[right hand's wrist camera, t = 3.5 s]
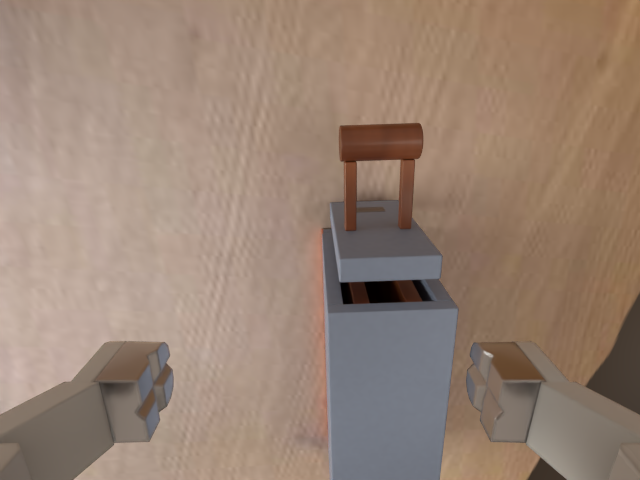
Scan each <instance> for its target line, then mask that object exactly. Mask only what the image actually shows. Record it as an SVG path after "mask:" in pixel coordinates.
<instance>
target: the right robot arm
mask: <svg viewBox="0 0 640 480" xmlns="http://www.w3.org/2000/svg"><path fill="white" fill-rule="evenodd" d="M169 357H170V352H169V347H168V345H167V344H166V343H165V342H136V341H128V342H126V341H109V342H106V343H104V344H103V346H102V347H101V348H100V349H99V350H98V351H97V352H96V353H95V355H94V356H93V357H92V358H91V359H90V360H89V361H88V363H87V364H86V365H85V366H84V367H83V368H82V369H81V371H80V372H79V373H78V374H77V375H76V376H75V377H74V379H73V380H72V381H71V382H63V383H61V384H59V385H57V386H55V387H53V388H52V389H50V390H48V391H46V392H44V393H42V394H40V395H38V396H36V397H34V398H32V399H30V400H28V401H26V402H24V403H22V404H20V405H18V406H16V407H14V408H12V409H11V410H9V411H7V412H5V413H3V414H1V415H0V480H73V479H74V478H76V477H77V476H78V475H79V474H80V473H81V472H83V471H84V470H85V469H86V468H87V467H88V466H90V465H91V464H92V463H93V462H94V461H95V460H97V459H98V458H99V457H100V456H101V455H103V454H104V453H105V452H106V451H107V450H108V449H110V448H111V447H112V446H113V445H114V443H123V442H149V441H150V439H151V437H152V435H153V433H154V431H155V429H156V427H157V425H158V423H159V421H160V416H159V412H160V411H161V410H163V409H164V408H165V407H167V405H168V403H169V401H170V399H171V395H172V391H173V384H174V377H173V370H172V369H171V368H170V367H169V366H168V365H167V364H166V362H167V360H168V359H169ZM470 357H471V359H472V360H473V362H474V364H473V365H472V366H471V367H470V368H469V369H468V370H467V378H466V383H467V392H468V395H469V399H470V401H471V403H472V405H473V407H475V408H476V409H477V410H479V411H480V412H481V416H480V421H481V423H482V425H483V427H484V429H485V431H486V433H487V435H488V437H489V439H490V441H491V442H516V443H526V445H527V446H528V447H529V448H531V449H532V450H533V451H534V452H535V453H536V454H538V455H539V456H540V457H541V458H542V459H544V460H545V461H546V462H547V463H548V464H549V465H551V466H552V467H553V468H554V469H555V470H556V471H558V472H559V473H560V474H561V475H562V476H563V477H565V478H566V479H567V480H640V415H639V414H637V413H635V412H633V411H631V410H629V409H627V408H625V407H623V406H622V405H620V404H618V403H616V402H614V401H612V400H610V399H608V398H606V397H604V396H602V395H600V394H598V393H596V392H594V391H592V390H590V389H588V388H587V387H585V386H583V385H581V384H579V383H577V382H569V381H568V380H567V379H566V377H565V376H564V375H563V374H562V373H561V372H560V371H559V369H558V368H557V367H556V366H555V365H554V364H553V363H552V361H551V360H550V359H549V358H548V357H547V356H546V355H545V354H544V352H543V351H542V350H541V349H540V348H539V347H538V346H537V344H536V343H534V342H532V341H516V342H480V343H473V345H472V347H471V352H470Z"/></svg>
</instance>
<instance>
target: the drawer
mask: <svg viewBox="0 0 640 480" xmlns="http://www.w3.org/2000/svg"><path fill="white" fill-rule="evenodd" d="M422 149H423V130H422V126H421V124H419V123H405V124H376V125H346V126H340V128H339V155H340V161H344V202H331V203H330V220H331V227H332V234H333V241H334V248H335V255H336V262H337V269H338V276H339V281H340V282H341V293H342V299H343V304H370V303H397V302H423V301H422V299H421V297H420V296H419V294H418V292H417V290H416V288H415V286H414V284H413V282H412V280H423V279H440V278H441V268H442V254H441V253H440V252H439V251H438V249H437V248H436V247H435V246H434V244H433V243H432V242H431V241H430V239H429V238H428V237H427V236H426V234H425V233H424V232H423V231H422V229H421V228H420V227H419V226H418V224H417V223H416V222H415V221H414V219H413V218H412V205H413V187H414V169H415V160H414V159H418V158H420V156H421V153H422ZM372 160H401V167H400V190H399V201H398V200H386V201H357V163H356V161H372Z"/></svg>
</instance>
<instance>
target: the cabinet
mask: <svg viewBox="0 0 640 480" xmlns="http://www.w3.org/2000/svg"><path fill="white" fill-rule="evenodd" d="M321 230H322V262H323V295H324V327H325V359H326V391H327V423H328V449H329V470H330V480H440V471H441V462H442V453H443V444H444V435H445V426H446V417H447V408H448V399H449V390H450V381H451V372H452V363H453V354H454V345H455V336H456V327H457V318H458V307H457V306H456V304H455V303H454V301H453V300H452V299H451V297H450V296H449V294H448V293H447V291H446V290H445V288H444V287H443V285H442V284H441V282H440V281H439V279H423V280H412V282H413V284H414V286H415V288H416V290H417V292H418V294H419V296H420V297H421V299H422V301H423V302H397V303H370V304H343V299H342V293H341V282H340V281H339V276H338V269H337V262H336V255H335V248H334V241H333V234H332V229H321Z"/></svg>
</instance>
